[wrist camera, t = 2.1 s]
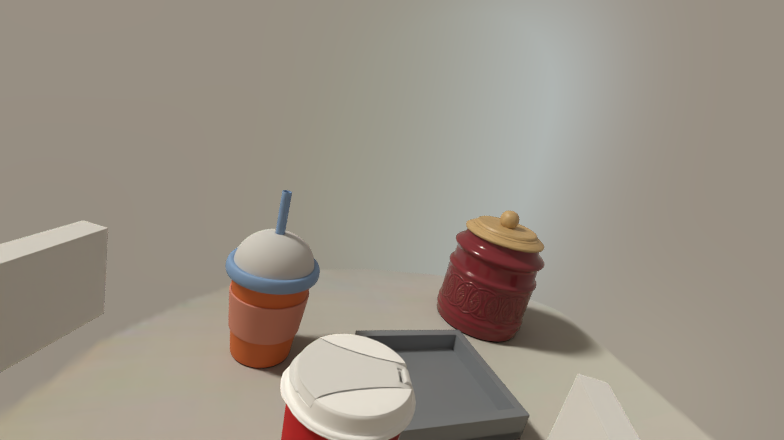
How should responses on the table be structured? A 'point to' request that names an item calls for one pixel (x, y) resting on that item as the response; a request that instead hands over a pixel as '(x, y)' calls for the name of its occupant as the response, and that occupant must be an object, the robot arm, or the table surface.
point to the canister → (491, 277)
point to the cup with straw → (268, 292)
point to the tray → (452, 388)
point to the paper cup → (346, 391)
